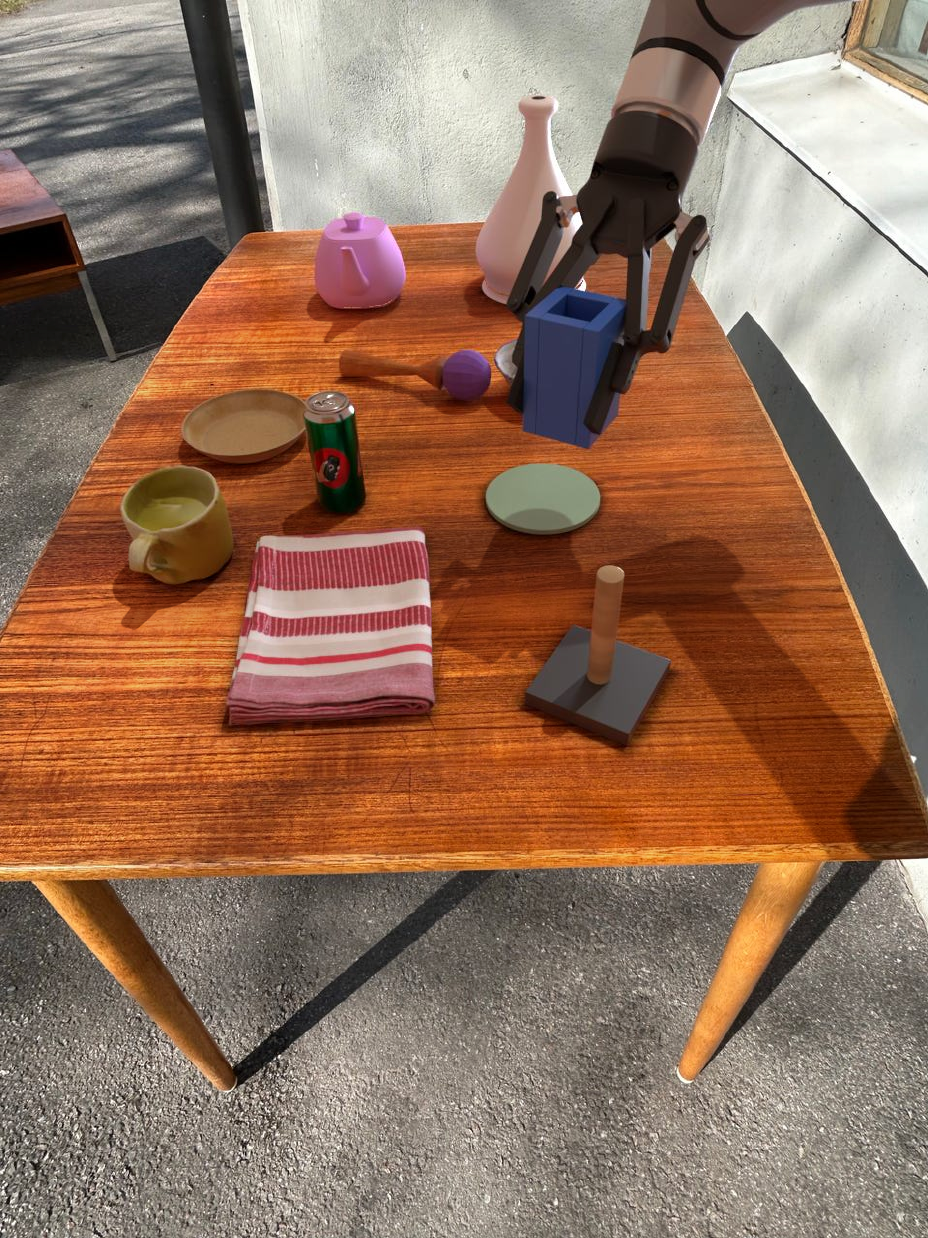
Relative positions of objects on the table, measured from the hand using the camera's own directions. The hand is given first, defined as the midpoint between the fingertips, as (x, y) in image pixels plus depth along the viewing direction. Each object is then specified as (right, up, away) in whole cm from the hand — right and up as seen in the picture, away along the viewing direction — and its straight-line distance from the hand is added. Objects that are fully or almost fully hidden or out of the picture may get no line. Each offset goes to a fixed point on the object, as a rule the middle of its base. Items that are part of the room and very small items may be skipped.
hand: (553, 418), depth 69 cm
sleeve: (+2, +1, +4) cm, 4 cm away
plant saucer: (-32, +5, +33) cm, 47 cm away
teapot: (-22, +32, +61) cm, 72 cm away
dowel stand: (+4, -22, +3) cm, 22 cm away
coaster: (+1, -3, +23) cm, 23 cm away
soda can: (-20, -4, +24) cm, 31 cm away
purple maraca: (-13, +13, +41) cm, 45 cm away
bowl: (+3, +12, +39) cm, 41 cm away
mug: (-35, -11, +16) cm, 40 cm away
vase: (+4, +34, +62) cm, 71 cm away
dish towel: (-18, -16, +10) cm, 27 cm away
